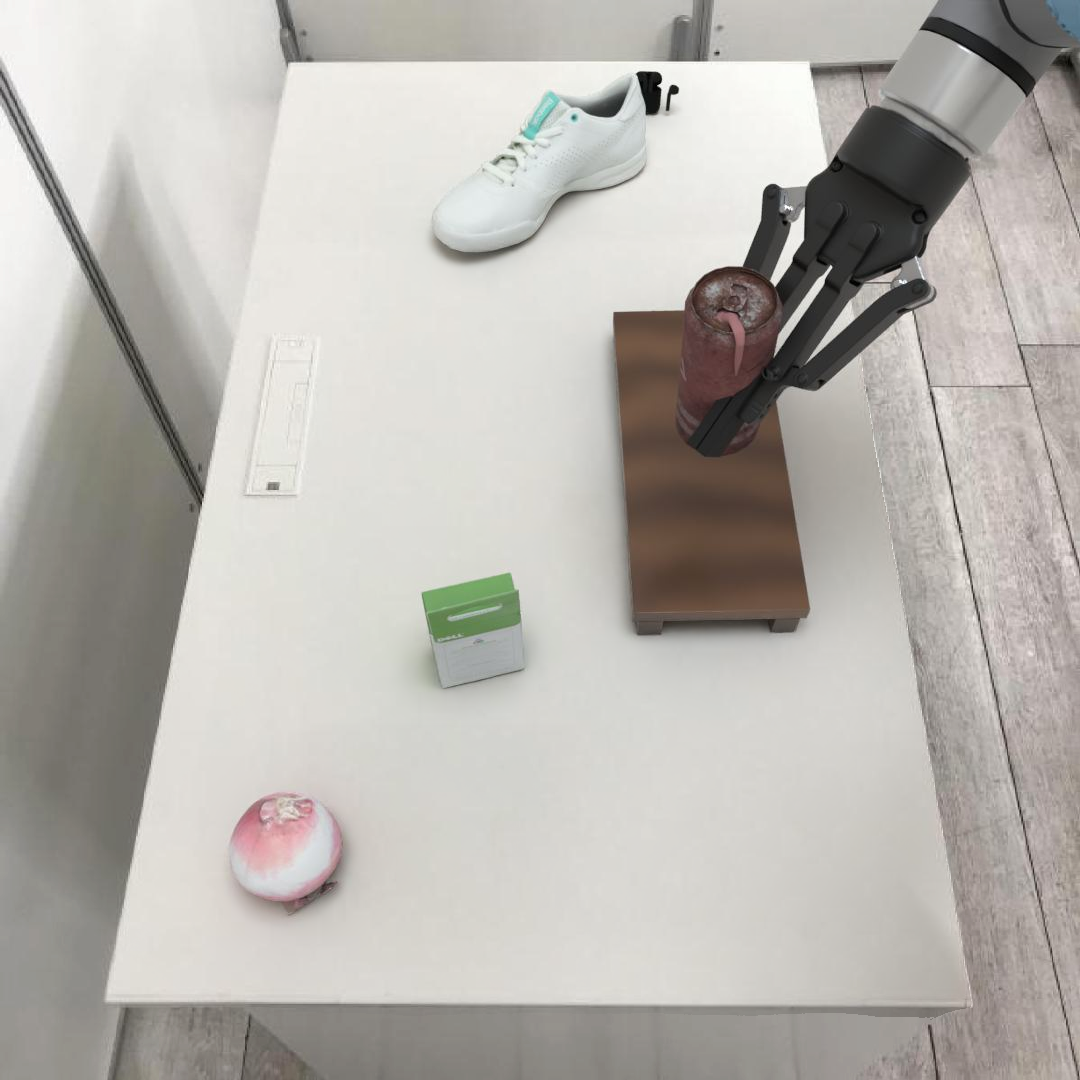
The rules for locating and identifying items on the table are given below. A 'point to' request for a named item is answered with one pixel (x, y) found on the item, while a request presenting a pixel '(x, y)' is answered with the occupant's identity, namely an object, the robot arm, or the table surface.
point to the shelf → (699, 500)
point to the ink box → (475, 629)
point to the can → (725, 344)
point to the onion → (285, 848)
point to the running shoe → (547, 166)
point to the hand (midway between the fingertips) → (703, 449)
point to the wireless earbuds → (654, 90)
